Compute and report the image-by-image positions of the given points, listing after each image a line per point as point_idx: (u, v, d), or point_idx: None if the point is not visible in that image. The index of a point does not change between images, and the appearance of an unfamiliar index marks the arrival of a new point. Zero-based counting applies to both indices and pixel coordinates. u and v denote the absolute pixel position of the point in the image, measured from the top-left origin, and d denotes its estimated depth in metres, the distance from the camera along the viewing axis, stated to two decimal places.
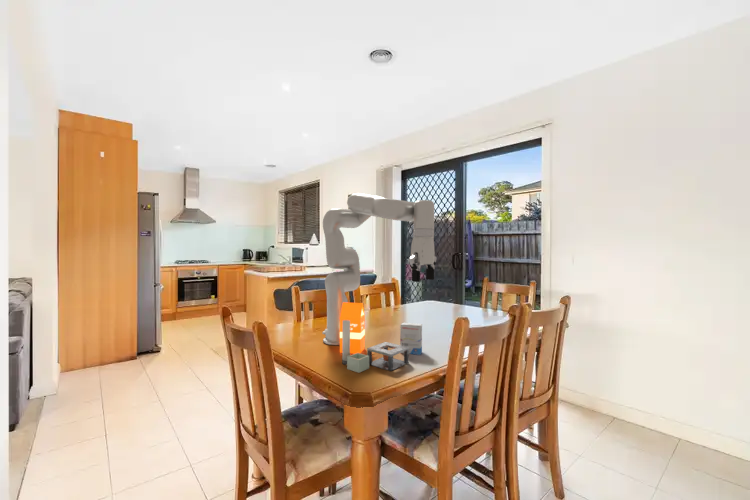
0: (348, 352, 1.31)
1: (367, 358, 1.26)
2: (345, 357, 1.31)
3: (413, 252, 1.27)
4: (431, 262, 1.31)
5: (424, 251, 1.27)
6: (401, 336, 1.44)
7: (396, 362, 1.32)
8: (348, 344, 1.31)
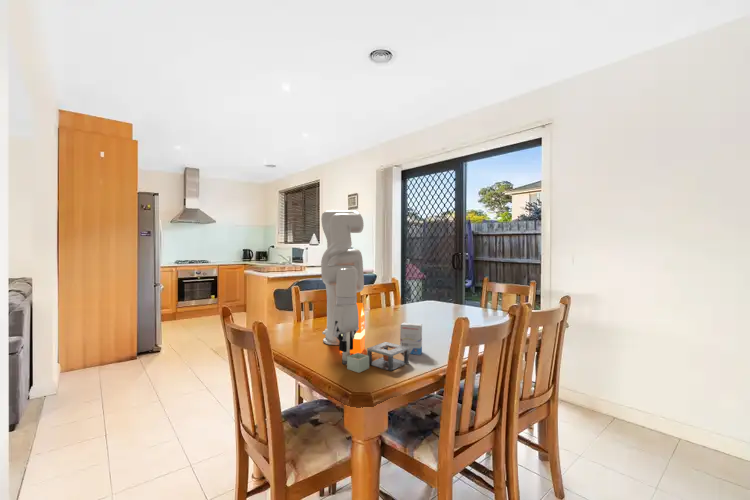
0: (348, 352, 1.31)
1: (367, 358, 1.26)
2: (345, 357, 1.31)
3: (334, 320, 1.28)
4: (354, 328, 1.32)
5: (345, 319, 1.28)
6: (401, 336, 1.44)
7: (396, 362, 1.32)
8: (348, 344, 1.31)
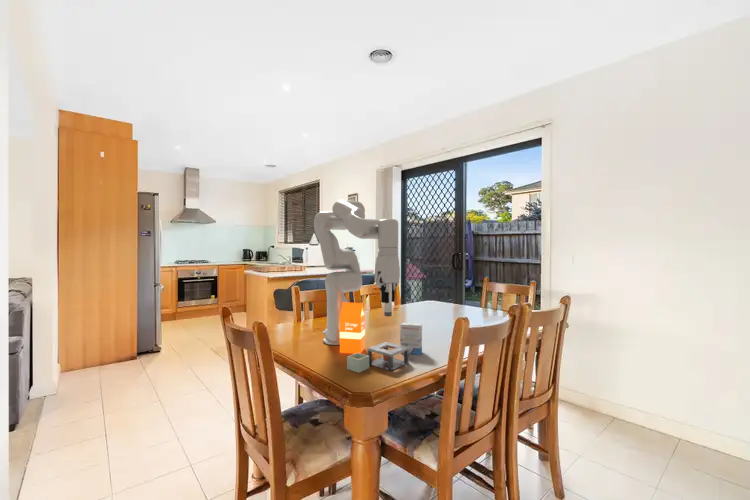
0: (390, 304, 1.30)
1: (367, 358, 1.26)
2: (387, 309, 1.30)
3: (377, 271, 1.28)
4: (396, 280, 1.32)
5: (387, 270, 1.27)
6: (401, 336, 1.44)
7: (396, 362, 1.32)
8: (390, 296, 1.30)
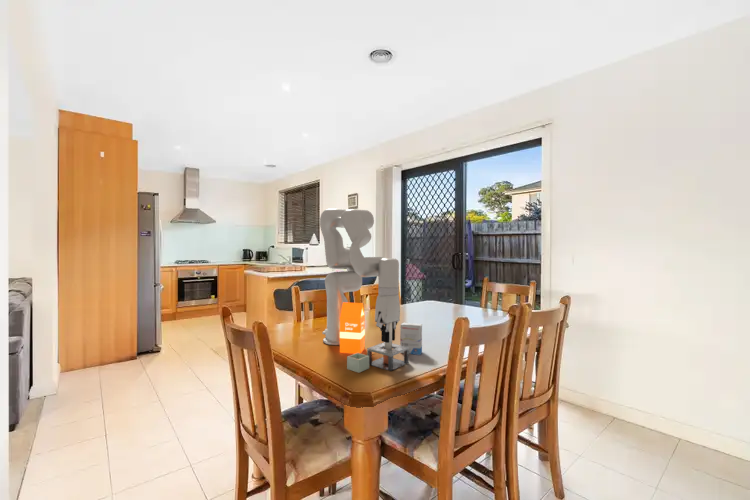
0: (391, 343, 1.31)
1: (367, 358, 1.26)
2: (388, 348, 1.30)
3: (377, 311, 1.28)
4: (396, 319, 1.32)
5: (388, 310, 1.28)
6: (401, 336, 1.44)
7: (396, 362, 1.32)
8: (391, 335, 1.31)
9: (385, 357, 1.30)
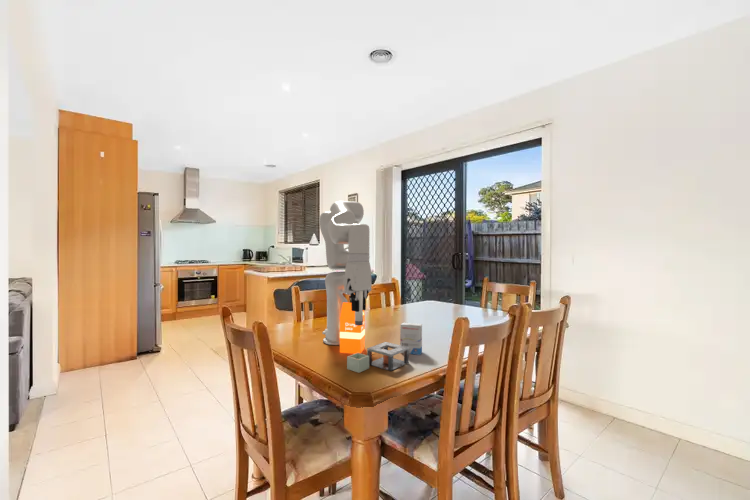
0: (361, 312, 1.25)
1: (367, 358, 1.26)
2: (358, 317, 1.25)
3: (346, 278, 1.23)
4: (367, 288, 1.26)
5: (357, 277, 1.22)
6: (401, 336, 1.44)
7: (396, 362, 1.32)
8: (361, 304, 1.25)
9: (385, 357, 1.30)
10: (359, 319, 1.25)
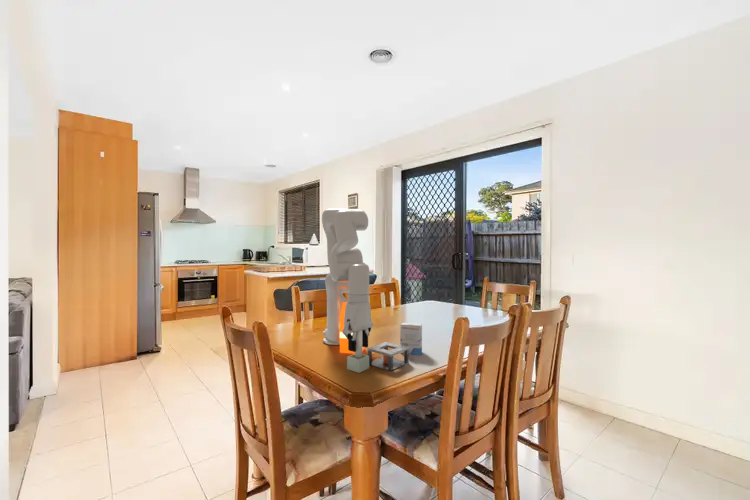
0: (361, 355, 1.26)
1: (367, 358, 1.26)
2: None
3: (346, 319, 1.23)
4: (367, 327, 1.27)
5: (357, 318, 1.22)
6: (401, 336, 1.44)
7: (396, 362, 1.32)
8: (361, 347, 1.25)
9: (385, 357, 1.30)
10: None
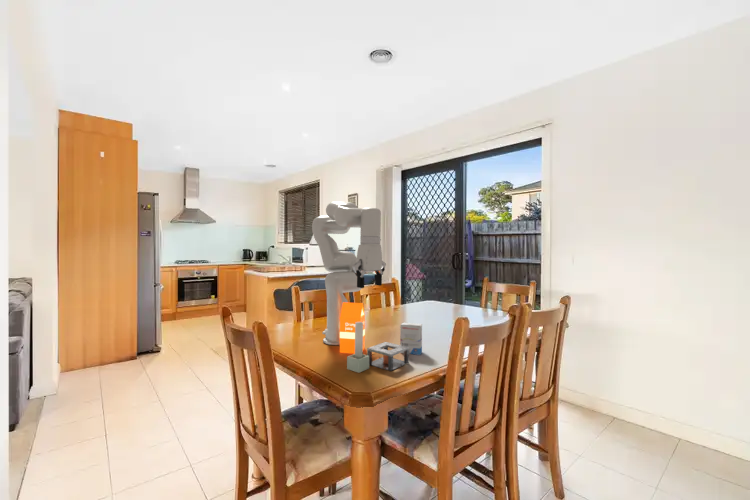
0: (361, 355, 1.26)
1: (367, 358, 1.26)
2: None
3: (358, 259, 1.30)
4: (378, 268, 1.34)
5: (369, 258, 1.29)
6: (401, 336, 1.44)
7: (396, 362, 1.32)
8: (361, 347, 1.25)
9: (385, 357, 1.30)
10: None
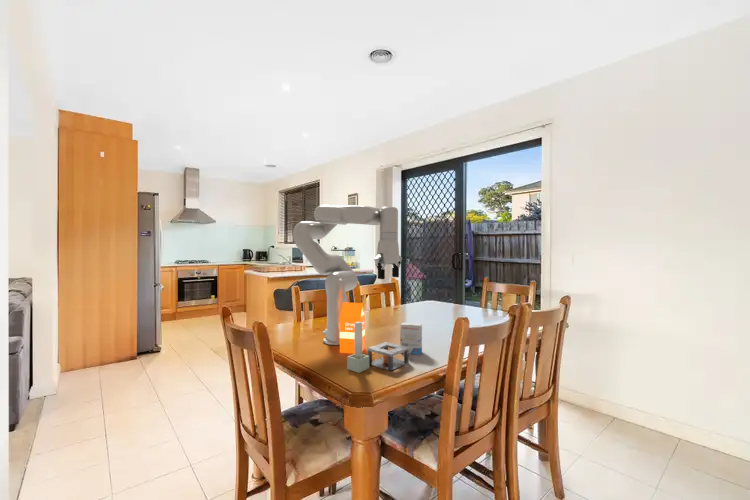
0: (360, 355, 1.25)
1: (367, 358, 1.26)
2: None
3: (379, 253, 1.44)
4: (395, 262, 1.48)
5: (388, 252, 1.43)
6: (401, 336, 1.44)
7: (396, 362, 1.32)
8: (360, 347, 1.25)
9: (385, 357, 1.30)
10: None
